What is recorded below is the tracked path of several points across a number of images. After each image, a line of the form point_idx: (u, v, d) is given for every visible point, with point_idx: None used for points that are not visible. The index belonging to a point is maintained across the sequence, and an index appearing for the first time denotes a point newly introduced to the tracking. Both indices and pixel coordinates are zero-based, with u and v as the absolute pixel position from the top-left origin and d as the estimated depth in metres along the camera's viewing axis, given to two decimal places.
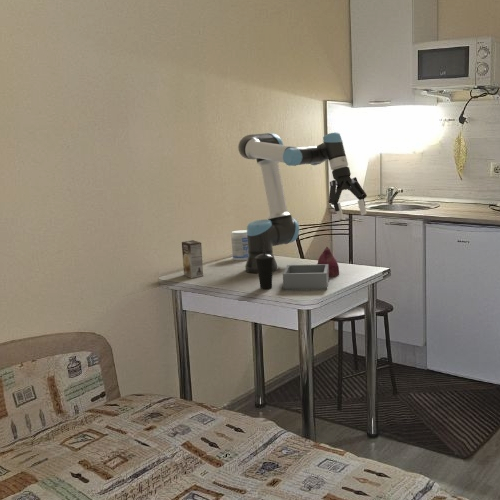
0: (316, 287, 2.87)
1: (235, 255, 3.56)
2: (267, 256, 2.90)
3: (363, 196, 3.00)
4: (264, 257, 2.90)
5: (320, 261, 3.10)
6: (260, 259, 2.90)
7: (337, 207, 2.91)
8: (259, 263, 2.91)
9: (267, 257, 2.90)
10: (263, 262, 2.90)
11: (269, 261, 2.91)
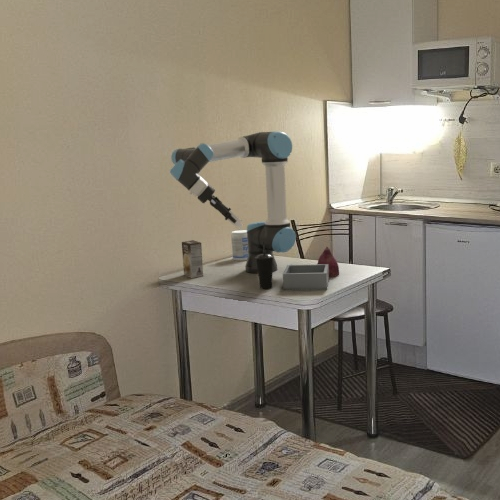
0: (316, 287, 2.87)
1: (235, 255, 3.56)
2: (267, 256, 2.90)
3: None
4: (264, 257, 2.90)
5: (320, 261, 3.10)
6: (260, 259, 2.90)
7: None
8: (259, 263, 2.91)
9: (267, 257, 2.90)
10: (263, 262, 2.90)
11: (269, 261, 2.91)
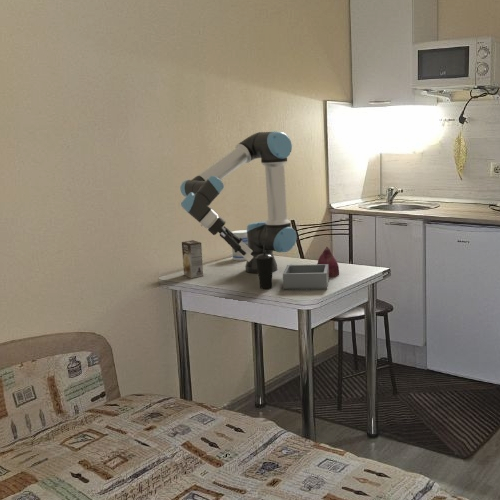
0: (316, 287, 2.87)
1: (235, 255, 3.56)
2: (267, 256, 2.90)
3: None
4: (264, 257, 2.90)
5: (320, 261, 3.10)
6: (260, 259, 2.90)
7: None
8: (259, 263, 2.91)
9: (267, 257, 2.90)
10: (263, 262, 2.90)
11: (269, 261, 2.91)
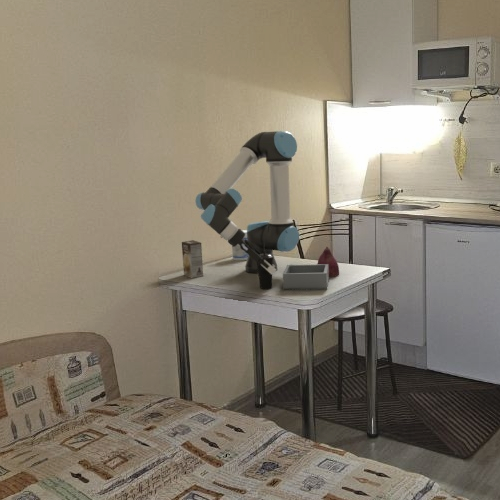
0: (316, 287, 2.87)
1: (235, 255, 3.56)
2: (267, 256, 2.91)
3: None
4: (264, 257, 2.90)
5: (320, 261, 3.10)
6: None
7: None
8: None
9: (267, 257, 2.90)
10: None
11: (269, 261, 2.91)
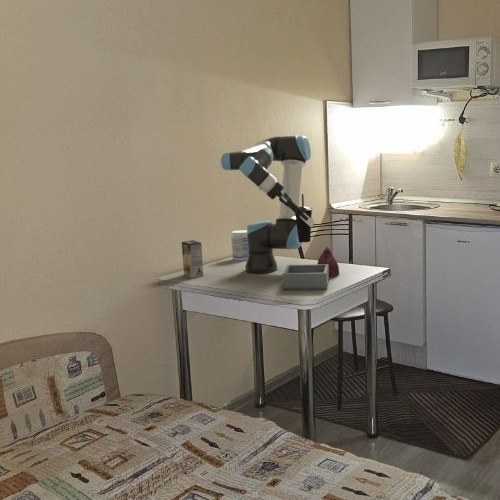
0: (316, 287, 2.87)
1: (235, 255, 3.56)
2: (306, 208, 2.88)
3: None
4: (303, 210, 2.87)
5: (320, 261, 3.10)
6: None
7: None
8: None
9: (306, 209, 2.88)
10: None
11: (308, 213, 2.88)
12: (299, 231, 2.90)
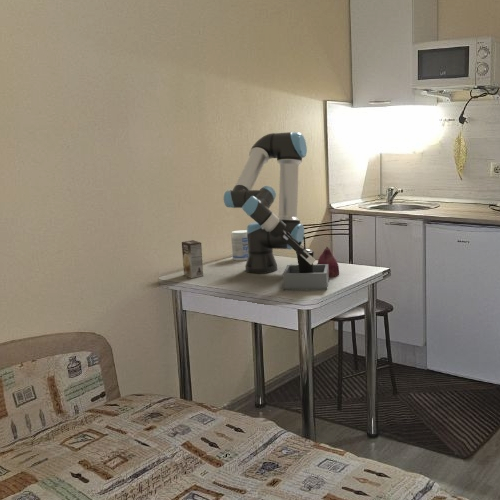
0: (316, 287, 2.87)
1: (235, 255, 3.56)
2: (308, 251, 2.91)
3: (298, 253, 2.86)
4: None
5: (320, 261, 3.10)
6: None
7: None
8: (300, 258, 2.92)
9: (308, 252, 2.91)
10: None
11: None
12: None
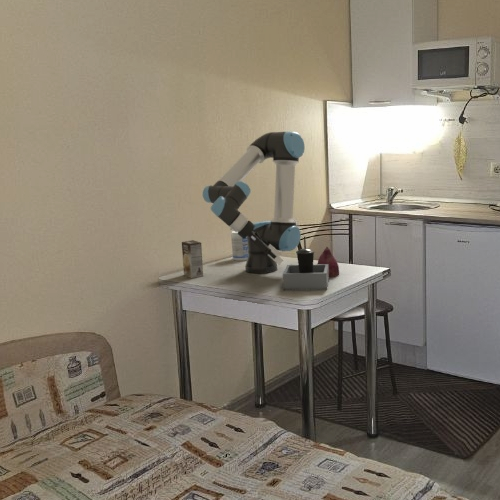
0: (316, 287, 2.87)
1: (235, 255, 3.56)
2: (308, 251, 2.91)
3: None
4: (306, 252, 2.90)
5: (320, 261, 3.10)
6: (301, 254, 2.91)
7: None
8: (300, 258, 2.92)
9: (308, 252, 2.91)
10: (304, 257, 2.91)
11: (310, 256, 2.91)
12: None
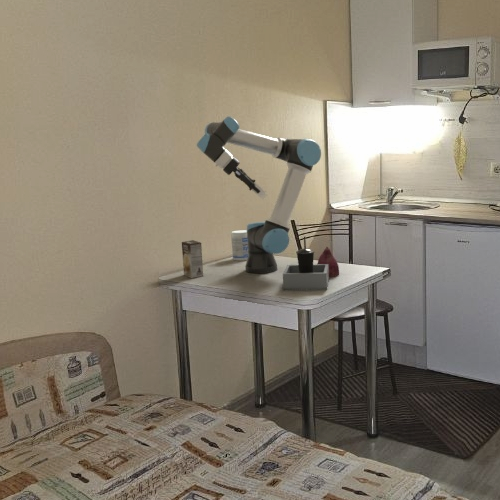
0: (316, 287, 2.87)
1: (235, 255, 3.56)
2: (308, 251, 2.91)
3: None
4: (306, 252, 2.90)
5: (320, 261, 3.10)
6: (301, 254, 2.91)
7: None
8: (300, 258, 2.92)
9: (308, 252, 2.91)
10: (304, 257, 2.91)
11: (310, 256, 2.91)
12: None
